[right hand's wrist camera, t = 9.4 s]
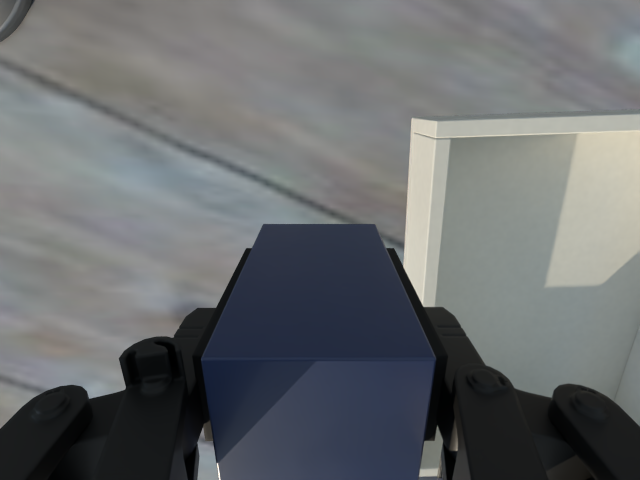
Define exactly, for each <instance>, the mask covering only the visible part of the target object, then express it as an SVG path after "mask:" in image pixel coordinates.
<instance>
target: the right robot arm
mask: <svg viewBox="0 0 640 480" xmlns="http://www.w3.org/2000/svg"><path fill="white" fill-rule="evenodd" d="M31 2H32V0H0V42H1V41H3V40H4V39H5V38H7V37H8V36H9V35H10V34H11V33H13V32H14V31H15V30H16V28H17V27H18V26H19V25H20V24H21V22H22V20H23V19H24V17H25V16H26V14H27V11H28V9H29V7H30V5H31ZM386 249H387V251H388V254H389V256H390V258H391V260H392V262H393V265H394V267H395V269H396V271H397V273H398V276H399V278H400V280H401V282H402V284H403V287H404V289H405V291H406V293H407V295H408V298H409V300H410V302H411V304H412V306H413V309H414V311H415V313H416V315H417V317H418V320H419V322H420V324H421V326H422V328H423V330H424V333H425V335H426V337H427V339H428V341H429V344H430V346H431V348H432V350H433V352H434V355H435V357H436V364H435V371H434V378H433V385H432V392H431V399H430V406H429V412H428V419H427V426H426V433H425V440H424V441H435V436H436V430H437V426H438V428H439V431H440V434H441V437H442V439H443V444H442V450H441V456H440V462H439V468H438V474H437V478H442V475H443V480H640V426H639V425H638V424H637V423H636V422H635V421H634V420H633V419H632V418H631V417H630V416H629V415H628V414H627V413H626V412H625V411H624V410H623V409H622V408H621V407H620V406H619V405H618V404H616V403H615V402H614V401H613V400H611V399H610V398H609V397H607V396H606V395H604V394H602V393H600V392H598V391H596V390H594V389H591V388H589V387H585V386H582V385H577V384H569V383H568V384H563V385H559V386H558V387H557V388H555V389H554V391H553V395H552V398H551V397H547V396H542V395H538V394H534V393H529V392H525V391H522V390H519V389H516V388H514V386H513V385H512V383H511V381H510V380H509V379H508V378H507V377H506V376H505V375H504V374H502V373H501V372H500V371H498V370H496V369H494V368H492V367H490V366H486V365H485V363H484V362H483V360H482V358H481V357H480V355H479V354H478V352H477V350H476V349H475V347H474V346H473V344H472V343H471V341H470V339H469V338H468V336H466V333H465V331H464V330H463V328H461V325H460V323H459V322H458V320H457V319H456V317H455V316H454V315H453V314H452V313H450V312H449V311H448V310H446V309H445V308H444V307H423V305H422V303H421V301H420V299H419V297H418V295H417V293H416V291H415V289H414V287H413V285H412V283H411V281H410V279H409V277H408V275H407V273H406V271H405V269H404V267H403V265H402V263H401V261H400V259H399V257H398V255H397V253H396V251H395V249H394V248H386ZM251 250H252V248H246V250H245V252H244V254H243V256H242V258H241V260H240V262H239V264H238V266H237V268H236V270H235V272H234V274H233V276H232V278H231V280H230V282H229V284H228V286H227V287H226V289H225V291H224V293H223V295H222V297H221V299H220V301H219V303H218V305H217V307H216V308H197V309H196V310H194V311H193V312H192V313H190V314H189V315H188V316H186V317H185V319H184V320H183V322H182V324H181V325H180V327H179V329H178V330H177V332H176V333H175V335H174V338H170V337H153V338H148V339H144V340H142V341H140V342H138V343H135V344H133V345H132V346H130V347H129V348H128V349H126V350H125V351H124V352H123V354H122V355H121V356H120V358H119V361H120V365H121V369H122V373H123V377H124V381H125V385H126V389H125V390H123V391H120V392H117V393H113V394H109V395H104V396H100V397H96V398H91V399H89V397H88V394H87V391H86V390H85V389H84V388H83V387H81V386H76V385H67V386H60V387H57V388H54V389H51V390H48V391H45V392H44V393H42V394H40V395H38V396H36V397H34V398H33V399H31V400H30V401H29V402H28V403H27V404H25V405H24V406H23V407H22V408H21V409H20V410H19V411H18V412H17V413H16V414H15V415H14V416H13V417H12V418H11V419H10V420H9V421H8V422H7V423H6V424H5V425H4V426H3V427H2V428H1V429H0V480H197V476H198V465H199V450H198V444H197V442H198V439H199V436H200V433H201V431H202V428H204V434H205V441H213V436H212V430H211V423H210V416H209V409H208V403H207V396H206V389H205V383H204V376H203V369H202V362H201V358H202V355H203V353H204V351H205V349H206V347H207V345H208V343H209V340H210V338H211V336H212V334H213V332H214V330H215V327H216V325H217V323H218V321H219V319H220V317H221V314H222V312H223V310H224V308H225V306H226V304H227V301H228V299H229V297H230V295H231V293H232V291H233V288H234V286H235V284H236V282H237V280H238V278H239V275H240V273H241V271H242V269H243V267H244V265H245V263H246V260H247V258H248V256H249V254H250V252H251Z"/></svg>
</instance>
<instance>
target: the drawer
mask: <svg viewBox="0 0 640 480" xmlns="http://www.w3.org/2000/svg"><path fill="white" fill-rule="evenodd" d="M404 269H405V271H406V273H407V275H408V277H409V279H410V281H411V283H412V285H413V287H414V289H415V291H416V293H417V295H418V297H419V299H420V301H421V303H422V305H423V307H444V308H445V309H446V310H448V311H449V312H450V313H452V314H453V315H454V316H455V317H456V319H457V320H458V322H459V323H460V325H461V328H463V330H464V331H465V333H466V336H468V338H469V339H470V341H471V343H472V344H473V346H474V347H475V349H476V350H477V352H478V354H479V355H480V357H481V358H482V360H483V362H484V363H485V365H486V366H490V367H492V368H494V369H496V370H498V371H500V372H501V373H502V374H504V375H505V376H506V377H507V378H508V379H509V380H510V381H511V383H512V385H513V386H514V388H516V389H519V390H522V391H525V392H529V393H534V394H538V395H542V396H547V397H551V398H552V395H553V391H554V389H555V388H557V387H558V386H559V385H563V384H568V383H569V384H577V385H582V386H585V387H589V388H591V389H594V390H596V391H598V392H600V393H602V394H604V395H606V396H607V397H609V398H610V399H611V400H613V401H614V402H615V403H616V404H618V405H619V406H620V407H621V408H622V409H623V410H624V411H625V412H626V413H627V414H628V415H629V416H630V417H631V418H632V419H633V420H634V421H635V422H636V423H637V424H638V425H639V426H640V109H633V110H604V111H576V112H547V113H519V114H490V115H462V116H434V117H412V123H411V141H410V159H409V177H408V196H407V214H406V232H405V250H404ZM442 444H443V439H442V437H441V434H440V431H439V428H438V426H437V430H436V436H435V441H424V447H423V454H422V460H421V467H420V474H419V477H420V476H437V474H438V468H439V462H440V456H441V450H442ZM442 476H443V475H442Z"/></svg>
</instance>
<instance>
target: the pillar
mask: <svg viewBox="0 0 640 480" xmlns="http://www.w3.org/2000/svg"><path fill="white" fill-rule="evenodd" d="M201 362H202V369H203V376H204V383H205V389H206V396H207V403H208V409H209V416H210V423H211V430H212V436H213V443H214V450H215V456H216V463H217V470H218V477H219V480H419V474H420V467H421V460H422V454H423V447H424V440H425V433H426V426H427V419H428V412H429V406H430V399H431V392H432V385H433V378H434V371H435V364H436V357H435V355H434V352H433V350H432V348H431V346H430V344H429V341H428V339H427V337H426V335H425V333H424V330H423V328H422V326H421V324H420V322H419V320H418V317H417V315H416V313H415V311H414V309H413V306H412V304H411V302H410V300H409V298H408V295H407V293H406V291H405V289H404V287H403V284H402V282H401V280H400V278H399V276H398V273H397V271H396V269H395V267H394V265H393V262H392V260H391V258H390V256H389V254H388V251H387V249H386V247H385V245H384V243H383V240H382V238H381V236H380V234H379V232H378V229H377V227H376V225H375V224H263V226H262V228H261V230H260V232H259V234H258V237H257V239H256V241H255V243H254V245H253V247H252V250H251V252H250V254H249V256H248V258H247V260H246V263H245V265H244V267H243V269H242V271H241V273H240V275H239V278H238V280H237V282H236V284H235V286H234V288H233V291H232V293H231V295H230V297H229V299H228V301H227V304H226V306H225V308H224V310H223V312H222V314H221V317H220V319H219V321H218V323H217V325H216V327H215V330H214V332H213V334H212V336H211V338H210V340H209V343H208V345H207V347H206V349H205V351H204V353H203V355H202V358H201Z"/></svg>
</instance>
